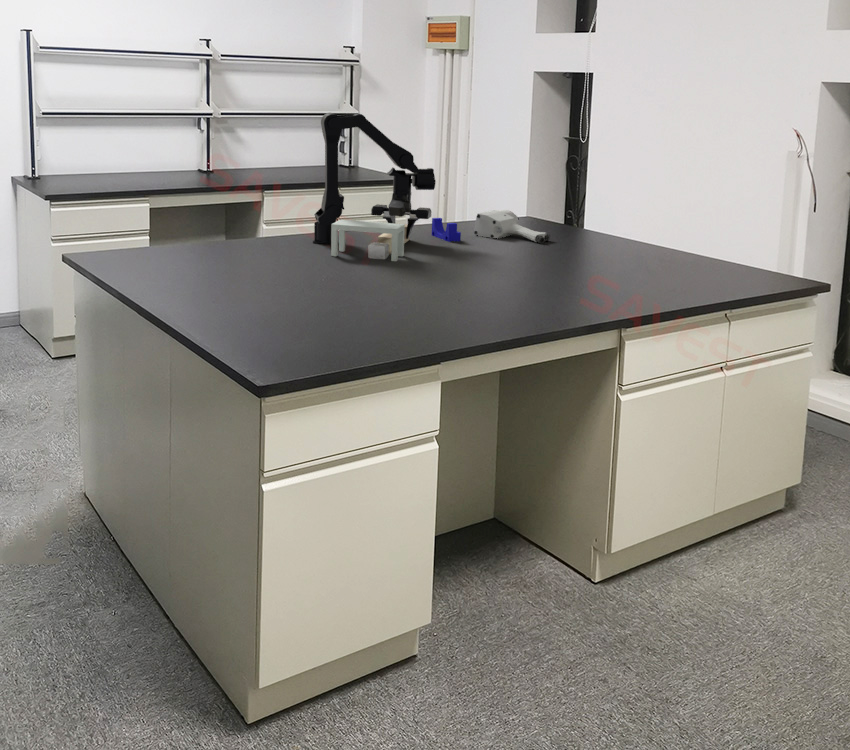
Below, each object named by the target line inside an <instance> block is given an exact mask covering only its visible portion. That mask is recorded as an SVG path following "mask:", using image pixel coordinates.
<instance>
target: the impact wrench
mask: <svg viewBox="0 0 850 750" xmlns="http://www.w3.org/2000/svg"><path fill="white" fill-rule="evenodd" d="M519 220H520V218H519V217H518V215H517V214H515V213H514V212H513V211H512V210H509V209H508V210H490V211H489V210H488V211H484V212H478V213H477V215H476V217H475V222H474V231H473V234H474V235H475V236H476V235H478V236H477V237H480V236H483V237H482V238H486V237H490V238H489V239H492V238H497V239H496V240H498V238H499V239H503V238H505V237H506V236H507V237H509V236H510V235H511V236H513V235H518V236H522V237H524V238H526V239H528V240H531V241H533V242H534V243H537V242H538V244H540V245H541V244H544V243H545V242H547V241H550V238H551V234H550V233H547V232H544V231H537V230H536V231H535V230H533V229H530V228H528V227H525V226H522V225H520V224H519ZM502 237H503V238H502Z"/></svg>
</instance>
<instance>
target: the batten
mask: <svg viewBox="0 0 850 750" xmlns="http://www.w3.org/2000/svg"><path fill="white" fill-rule="evenodd" d="M407 225H408V223H407V224H406V223H405V227H404V244H406V243H407V242H408V241H410V237H409V238H408V239H406V233H407ZM377 243H389V255H391V253H392V234H386V233H380V235H378V236H377Z"/></svg>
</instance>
